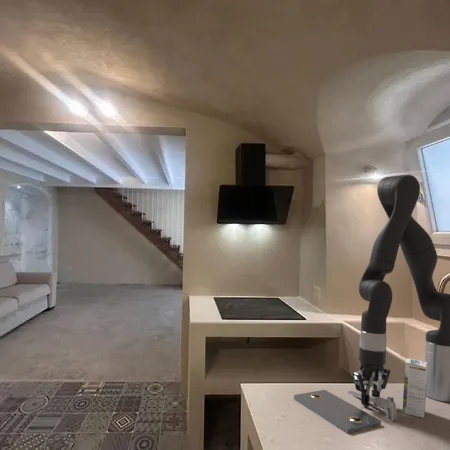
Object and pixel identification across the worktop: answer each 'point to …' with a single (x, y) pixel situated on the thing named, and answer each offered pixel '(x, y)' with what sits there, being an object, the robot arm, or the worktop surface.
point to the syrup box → (415, 387)
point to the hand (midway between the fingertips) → (370, 404)
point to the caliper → (381, 404)
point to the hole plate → (337, 411)
